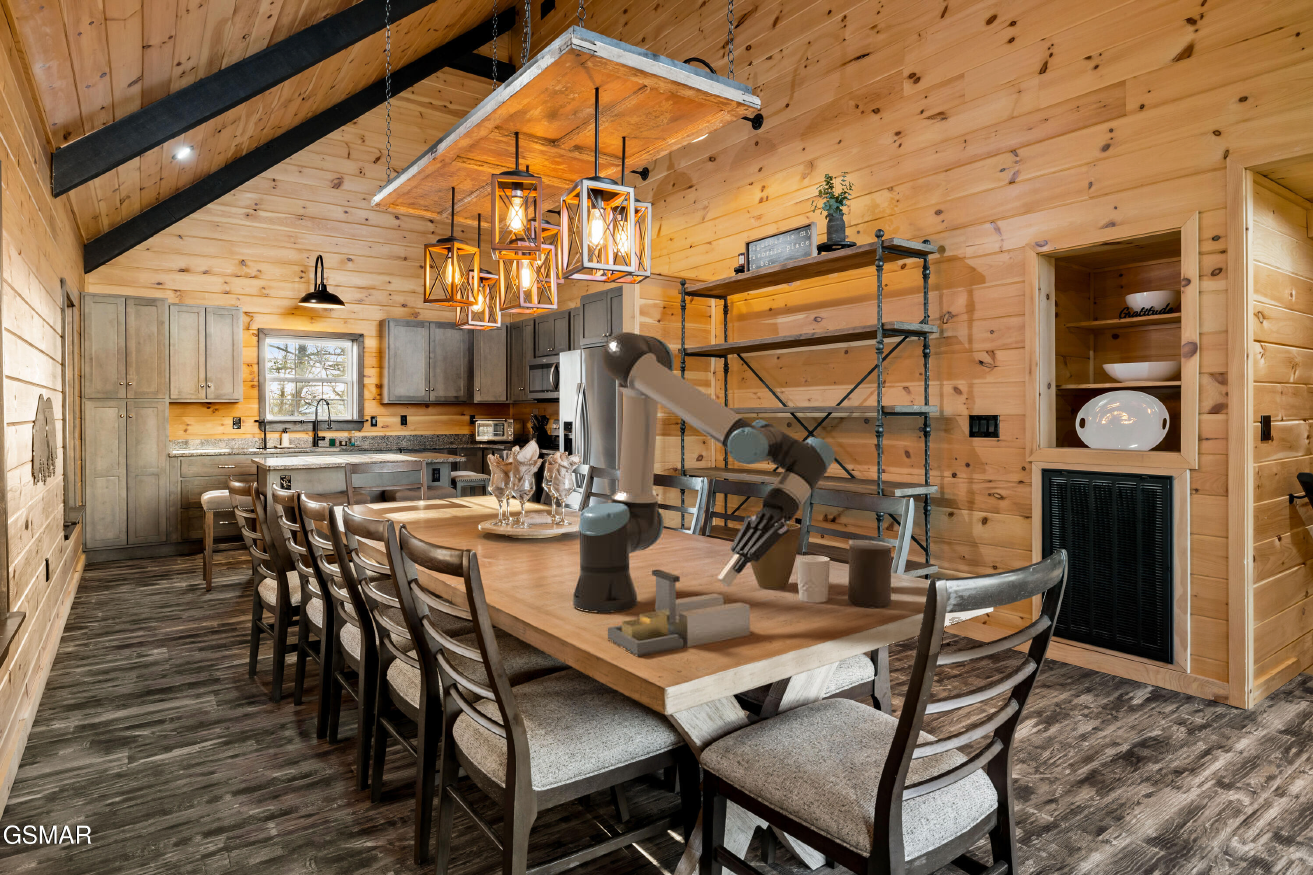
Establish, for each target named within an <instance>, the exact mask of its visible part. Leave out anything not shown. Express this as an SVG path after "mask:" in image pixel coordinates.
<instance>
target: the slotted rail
mask: <svg viewBox="0 0 1313 875" xmlns="http://www.w3.org/2000/svg"><path fill="white" fill-rule="evenodd" d="M750 607H751V606H750V604H746V603H744V602H740V601H739V602H736V603H735V602H734V603H729V604H724V596H723V595H721V594H718V593H710V594H703V595H698V596H697V595H696V596H690V597H685V598H679V599H677V598H676V621H673V622H668V633H669V634H671V635H675V634H676V635H678V636H679V638H680V639H682V640H683V647H687V648H690V647H694V646H695V647H696V646H701V645H705V644H711V643H715V642H719V641H725V640H731V639H736V638H742V637H746V636H750V635H751V631H750V630H751V627H750V626H751V617H750V616H751V613H750V612H751V609H750Z"/></svg>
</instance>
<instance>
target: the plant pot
mask: <svg viewBox="0 0 1313 875" xmlns="http://www.w3.org/2000/svg"><path fill="white" fill-rule="evenodd" d="M785 525H786V526H787V527H788V528H789V532H788V533H787V534H785V535H784V536H782V537H781V538H780V539H779V540H778V541H777V542H776V543H775V544H774V545H773V546H772V547H771V548H770V549H769V550H768V551H767V552H766V553H765V554H764V555H763V556H762V557H761V559H760V560H759V561H757V562H755V561H751V562H750V563H749V564H750V565H751V569H752V572H753V575H754V577H755V580H756V582H757V586H758V587H759V588H762V589H767V590H781V589H786V588H787V587H788V585H789V582H790V579H791V577H792V573H793V570H794V566H795V562H796V560H797V554H798V548H799V542H800V535H801V524H798V523H794V522H786V523H785ZM756 555H757V554H756Z"/></svg>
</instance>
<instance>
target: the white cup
mask: <svg viewBox="0 0 1313 875" xmlns="http://www.w3.org/2000/svg"><path fill="white" fill-rule="evenodd" d="M830 565H831V558H829V557H826V556H822V555H811V554H809V555H799V556H796V572H797V573H796V574H797V576H796V577H797V588H798V596H799V597H798V599H799V600H800V601H802V602H805V603H811V604H812V603H813V604H814V603H815V604H817V603H818V604H819V603H820V604H821V603H826V602H828V598H829V597H828V595H829V594H828V593H829V592H828V591H829V584H830V569H831V566H830Z"/></svg>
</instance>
